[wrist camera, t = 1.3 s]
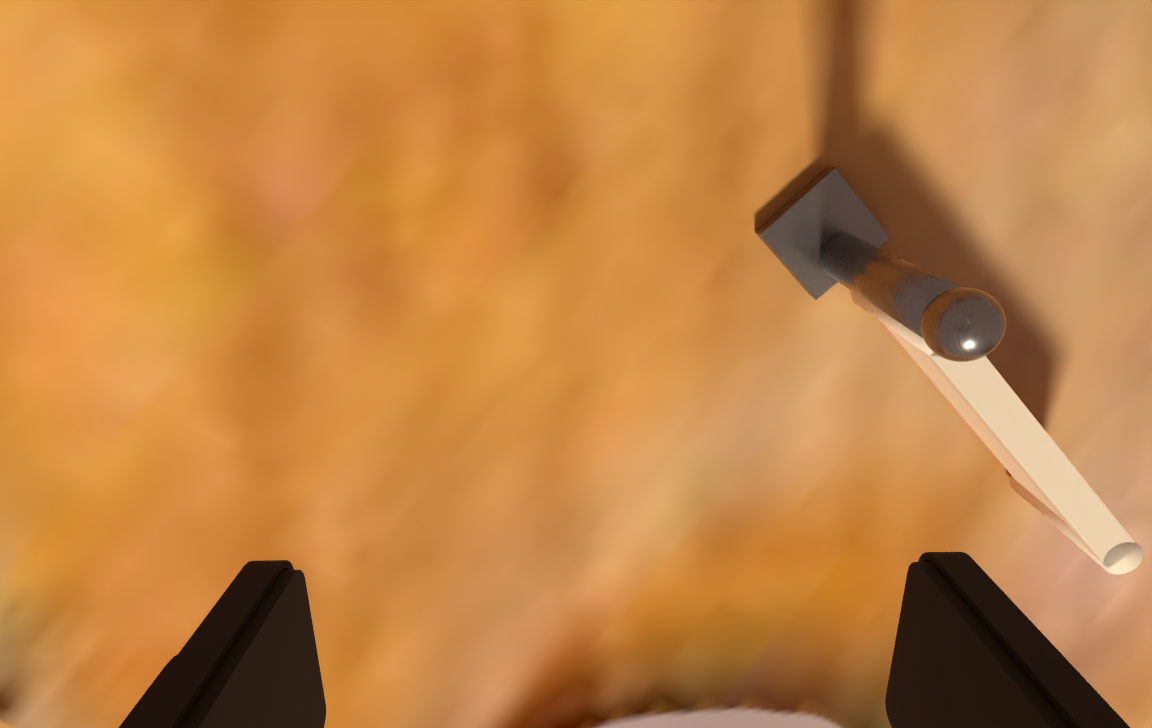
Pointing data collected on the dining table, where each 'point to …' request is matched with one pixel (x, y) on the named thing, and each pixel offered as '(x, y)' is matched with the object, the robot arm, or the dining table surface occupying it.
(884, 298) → the gate post
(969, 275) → the dining table surface
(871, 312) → the gate leaf
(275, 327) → the dining table surface
